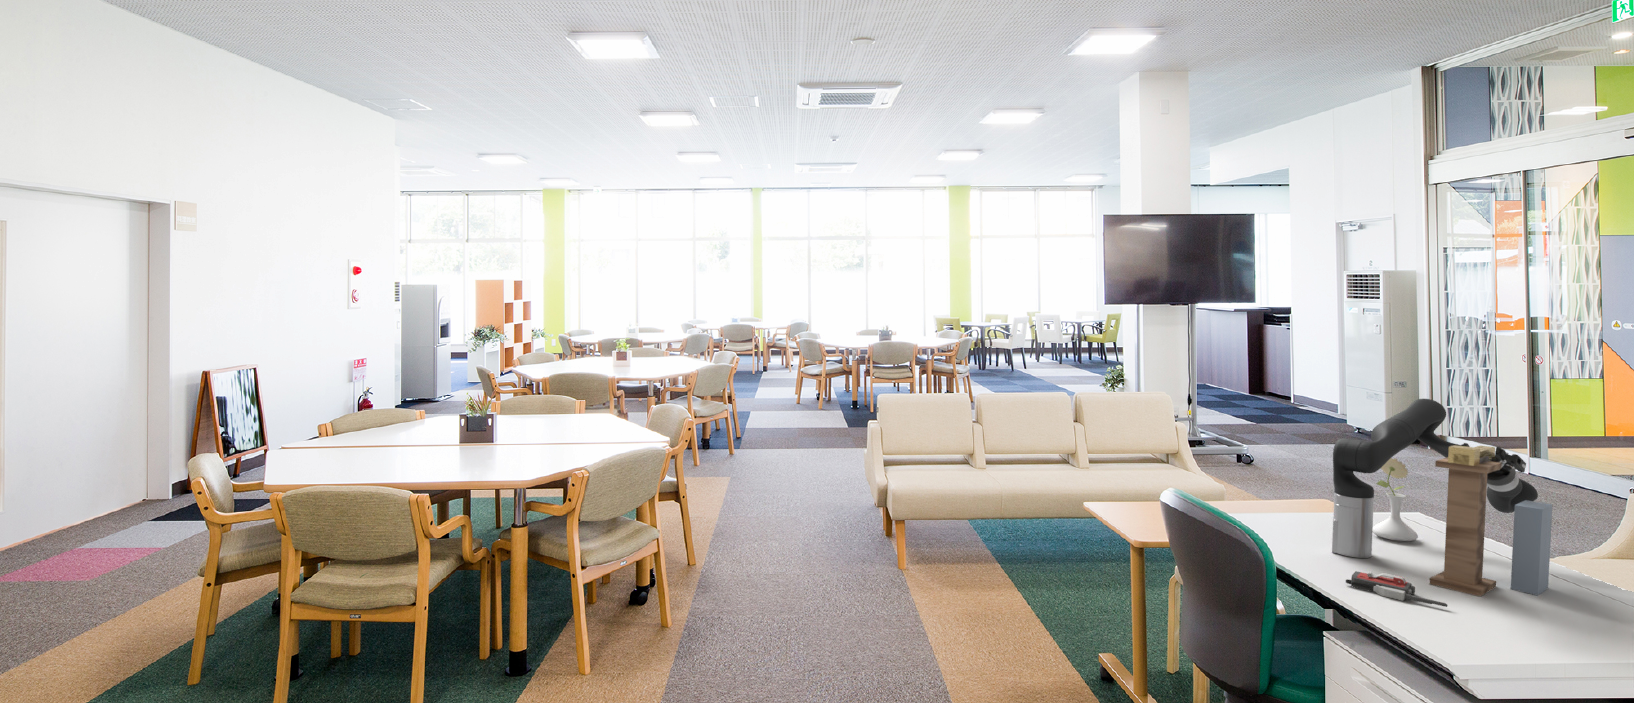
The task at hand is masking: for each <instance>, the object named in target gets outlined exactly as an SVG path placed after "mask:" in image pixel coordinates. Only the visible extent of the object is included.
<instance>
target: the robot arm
mask: <svg viewBox="0 0 1634 703" xmlns="http://www.w3.org/2000/svg"><path fill="white" fill-rule="evenodd" d="M1446 417H1447V410H1446V409H1445V407H1444V406H1443V405H1442V404H1441V403H1439V402H1438V401H1436V400H1434V399H1430V398H1419V399H1415V400H1413V402H1411V403H1410V404H1409V406H1408V407H1407V408H1406V409H1404V410H1402V411H1400V412H1398V413H1397V414H1395V415H1393V416H1391V417H1389V418H1388V419H1387V418H1386V419H1385V420H1383V421H1382V422H1380V423H1379V424H1377V425H1376V426H1374V427H1373V429H1372V430H1371V433H1370V440H1363V439H1362V440H1361V439H1355V438H1346V437H1344V438H1343V437H1342V438H1339V439H1338V440H1336V442H1335V444H1334V445H1333V446H1334V447H1333V450H1332V451H1333V452H1332V469H1333V470H1332V472H1333V474H1332V478H1333V480H1332V481H1333V486H1334V493H1333V494H1334V495H1333V498H1334V499H1333V517H1332V518H1333V519H1332V538H1331V540H1332V542H1331V543H1332V544H1331V553H1335V554H1339V555H1341V556H1342V555H1343V556H1346V557H1351V558H1359V559H1366V558H1367V559H1368V558H1371V557H1372V552H1373V532H1372V531H1373V527H1374V506H1375V505H1374V504H1375V503H1374V501H1375V500H1374V498H1375V489H1374V487H1373V486H1372V485H1371V484H1368V483H1367V482H1365V481H1363V480H1361V479H1360V478H1358V477H1357V475H1355V473H1354V472H1356V473H1360V474H1361V473H1362V474H1375V473H1376V472H1379V470H1381V467H1382V466H1383V465H1384V464H1385V463H1386V462H1387V461H1388V460H1389V459H1390V458H1392V459H1393V457H1394V456H1395V455H1396V454H1397V455H1398V453H1399V452H1401V451H1403V450H1405V449H1406V448H1409V446H1411V445H1412V444H1413V443H1414V442H1416V441H1417V440H1418V441H1420V442H1421V443H1422V444H1424V445H1426V446H1427V447H1429V448H1430V449H1432V450H1433V451H1435V452H1436V453H1438V454H1440V455H1441V456H1443V457H1444V458H1447V457H1448V453H1449V447H1450V446H1453V445H1457V446H1465V447H1471V446H1470V445H1469V443H1467V442H1463V443H1462V444H1458V443H1454V442H1450V441H1447V440H1444V439H1443V438H1441V437H1439V436H1438V435H1437V434H1436V433H1435V431H1436V430H1437V429H1438V427H1439V426H1441V424H1442V423H1443V422H1444V421H1445V419H1446ZM1489 461H1492V462H1500V463H1502V465H1501V469H1499V470H1496V471H1493V472H1490V473H1488V474H1487V491H1486V499H1487V500H1488V503H1489V504H1490V505H1491V507H1492V508H1494V509H1495V510H1496V511H1498V512H1501V513H1503V514H1512V513H1514V511H1515V505H1516V504H1518V503H1520V502H1523V501H1525V500H1528V501H1534V502H1536V500H1537V499H1538V498H1539V493H1538V491H1537V488H1535V486H1533V485H1532V484H1531V483H1529V481H1528V482H1527V481H1525V480H1524V479H1522V478H1520V477H1519V475H1518V472H1519V473H1525V470H1526V467H1527V462H1526V461H1525V460H1524V459H1522V458H1521V456H1520V455H1519V454H1515V453H1512V454H1511V455H1510V454H1509V453H1508V452H1506V450H1505V449H1504V448H1502V446H1496V447H1495V457H1492V458H1489Z"/></svg>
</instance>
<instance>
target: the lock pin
mask: <svg viewBox="0 0 1634 703" xmlns="http://www.w3.org/2000/svg"><path fill="white" fill-rule="evenodd" d="M1495 452H1496V447H1494V446H1488V445H1477V446H1474V447H1473V446H1470V447H1465V446H1457V445H1453V446H1450V447H1449V453H1448V462H1449V463H1456V464H1464V465H1471V466H1475V465H1478V464H1479V461H1480V458H1481V457H1484V456H1489V458H1492V457H1495Z"/></svg>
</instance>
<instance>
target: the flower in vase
mask: <svg viewBox="0 0 1634 703" xmlns="http://www.w3.org/2000/svg"><path fill="white" fill-rule="evenodd" d="M1380 470H1382V472H1383V473H1385V474H1386V475H1387V479H1386V480H1387V482H1386V481H1384V480H1382V479H1380V480H1379V481H1377V483H1376V485H1378V486H1380V487H1383V488H1385V489H1388V487H1389V490H1390V491H1391V492H1386V493H1385V495H1386V496H1387V498H1388V500H1389V504H1390V514H1389V517H1387V518H1386V519H1385V520H1383V521H1381V522H1378V523H1376V524H1375V525H1373V531H1372V534H1374V535H1376V536H1378V537H1380V538H1383V539H1387V540H1391V541H1400V542H1410V541H1416V540H1417V539H1418V538H1419V535H1418V533H1417V532H1416V531H1415V530H1414V529H1413V528H1412V527H1410V526H1409V524H1407V523H1405V522H1404V521H1403V520H1402V518H1401V507H1402V504H1403V501H1404V499H1406V498H1407V495H1406V494H1402V493H1398V492H1394V491H1395V490H1401V489H1403V488H1405V485H1401V486H1397V487H1395V488H1392V487H1391V485H1390V476H1391V477H1392V478H1394V479H1396V480H1397V479H1404V478H1407V476H1408V473H1409V470H1408V469H1407V468H1406V465H1405V464H1404V463H1403V462H1402V461H1399V460H1398V459H1397V458H1396V457H1395V458H1393V457H1392V458H1390V459H1389V460H1388V461H1387V462H1386V463H1385V464H1384V465H1383V466H1382V467H1381V468H1380Z"/></svg>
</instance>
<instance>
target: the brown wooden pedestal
mask: <svg viewBox="0 0 1634 703" xmlns="http://www.w3.org/2000/svg"><path fill="white" fill-rule="evenodd" d="M1434 465H1435V468H1443V469H1444V468H1445V469H1448V477H1447V480H1448V481H1447V500H1446V522H1445V541H1444V542H1445V544H1444V546H1445V547H1444V565H1443V567H1444V568H1443V570H1442V571H1441V572H1439V573H1436V574H1435V575H1434V576H1431V577H1429V585H1432V586H1436V587H1441V588H1444V589H1447V590H1448V589H1449V590H1452V591H1456V592H1460V593H1464V594H1468V595H1471V596H1477V597H1482V596H1484V595H1485V594H1487V593H1489V592H1491V591H1492V590H1494V589H1495V588H1496V587H1497V580H1494V579H1490V578H1486V577H1485V578H1484V577H1483V574H1484V573H1483V572H1484V569H1483V568H1484V550H1485V549H1484V548H1485V530H1486V527H1485V526H1486V513H1487V512H1486V508H1487V507H1486V506H1487V488H1488V486H1487V474H1488V473H1490V472H1493V471H1496V470H1499V469H1501V465H1502V463H1500V462H1492V461H1489V456H1484V457H1481V458H1480V461H1479V464H1478V465H1475V466H1471V465H1464V464H1456V463H1449V462H1448V457H1447V458H1446V457H1444V458H1440V459H1437V460H1435V464H1434Z"/></svg>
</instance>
